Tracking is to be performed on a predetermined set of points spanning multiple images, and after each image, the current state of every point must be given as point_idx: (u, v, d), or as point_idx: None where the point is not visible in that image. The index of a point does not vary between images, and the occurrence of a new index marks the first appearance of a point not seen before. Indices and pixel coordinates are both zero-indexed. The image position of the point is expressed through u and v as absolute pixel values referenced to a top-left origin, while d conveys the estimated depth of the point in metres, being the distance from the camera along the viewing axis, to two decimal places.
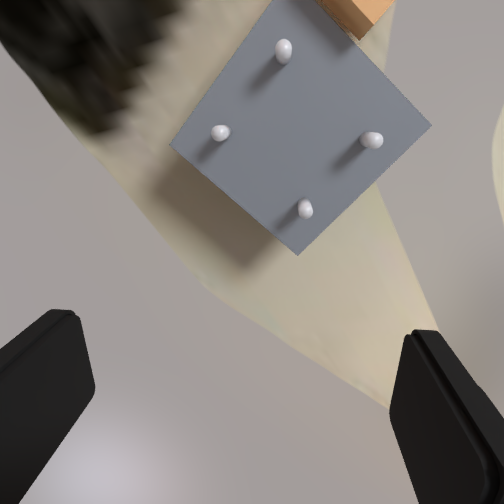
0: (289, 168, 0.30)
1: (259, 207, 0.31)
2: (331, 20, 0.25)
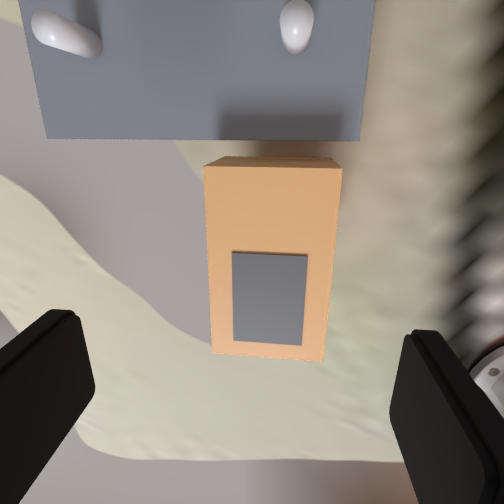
0: None
1: None
2: (267, 138, 0.16)
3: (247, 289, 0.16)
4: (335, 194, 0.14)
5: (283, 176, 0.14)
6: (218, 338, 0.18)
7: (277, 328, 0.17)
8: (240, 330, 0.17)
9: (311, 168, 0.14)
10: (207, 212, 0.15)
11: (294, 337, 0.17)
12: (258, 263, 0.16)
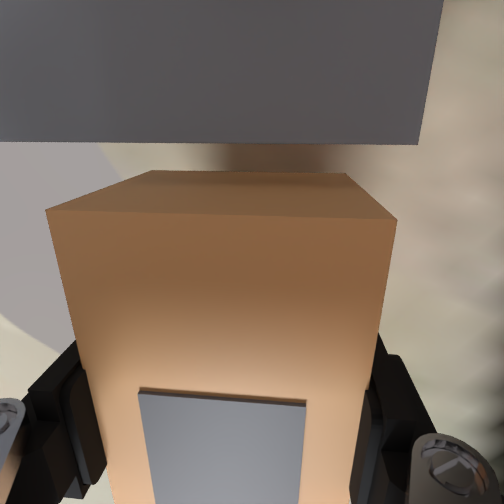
0: None
1: None
2: (216, 138, 0.07)
3: (179, 459, 0.08)
4: (374, 280, 0.06)
5: (244, 236, 0.06)
6: None
7: None
8: None
9: (314, 217, 0.05)
10: (73, 312, 0.07)
11: None
12: (198, 413, 0.07)
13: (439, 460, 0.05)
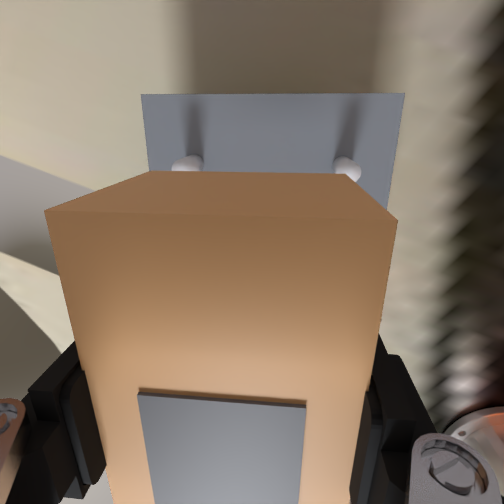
0: None
1: (236, 114, 0.21)
2: None
3: (179, 461, 0.08)
4: (375, 281, 0.06)
5: (243, 237, 0.06)
6: None
7: None
8: None
9: (315, 218, 0.05)
10: (72, 313, 0.07)
11: None
12: (198, 415, 0.07)
13: (439, 460, 0.05)
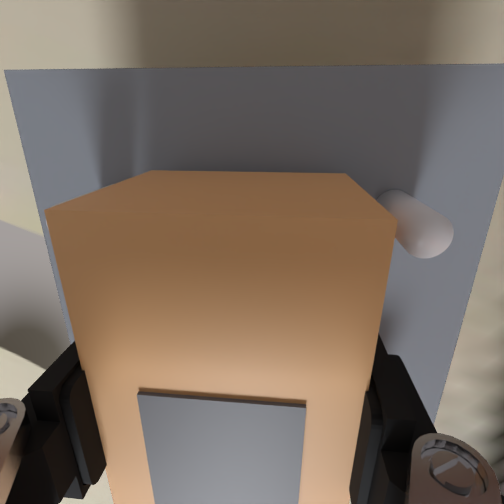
0: None
1: (190, 109, 0.11)
2: None
3: (179, 460, 0.08)
4: (375, 280, 0.06)
5: (244, 236, 0.06)
6: None
7: None
8: None
9: (315, 217, 0.05)
10: (72, 312, 0.07)
11: None
12: (197, 414, 0.07)
13: (439, 460, 0.05)
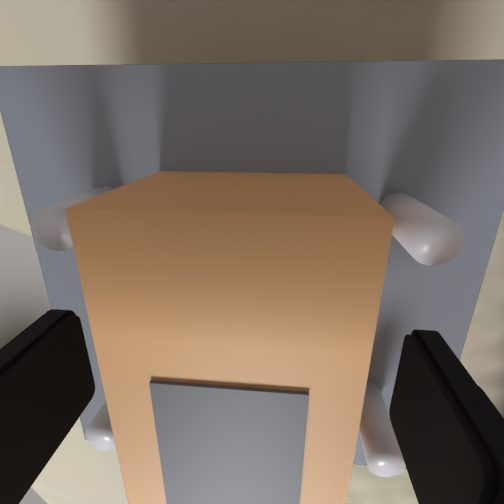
0: None
1: (184, 107, 0.10)
2: None
3: (188, 446, 0.08)
4: (373, 274, 0.06)
5: (251, 233, 0.06)
6: None
7: None
8: None
9: (317, 215, 0.06)
10: (89, 305, 0.07)
11: None
12: (206, 402, 0.08)
13: None
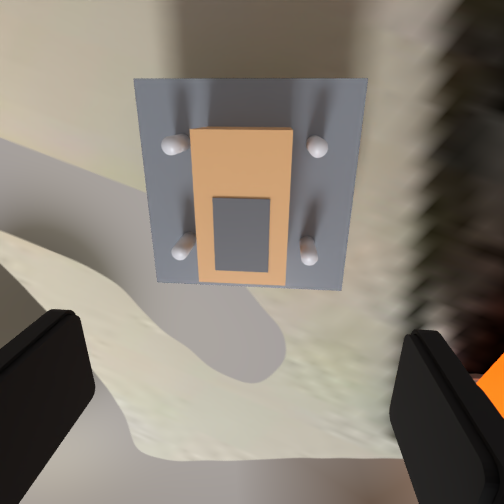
0: None
1: (220, 97, 0.23)
2: (289, 287, 0.28)
3: (225, 227, 0.21)
4: (288, 150, 0.19)
5: (249, 136, 0.19)
6: (203, 269, 0.23)
7: (249, 258, 0.22)
8: (220, 261, 0.22)
9: (270, 130, 0.19)
10: (193, 165, 0.20)
11: (262, 266, 0.22)
12: (233, 206, 0.21)
13: None
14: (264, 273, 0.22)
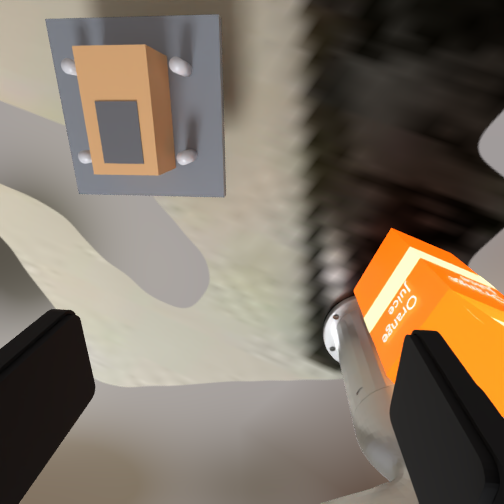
0: None
1: (111, 32, 0.30)
2: (183, 195, 0.35)
3: (107, 126, 0.28)
4: (144, 60, 0.26)
5: (115, 50, 0.26)
6: (96, 163, 0.29)
7: (128, 152, 0.29)
8: (107, 155, 0.29)
9: (129, 45, 0.26)
10: (77, 75, 0.27)
11: (139, 158, 0.29)
12: (110, 108, 0.27)
13: None
14: (141, 165, 0.29)
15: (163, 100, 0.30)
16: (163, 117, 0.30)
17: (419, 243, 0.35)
